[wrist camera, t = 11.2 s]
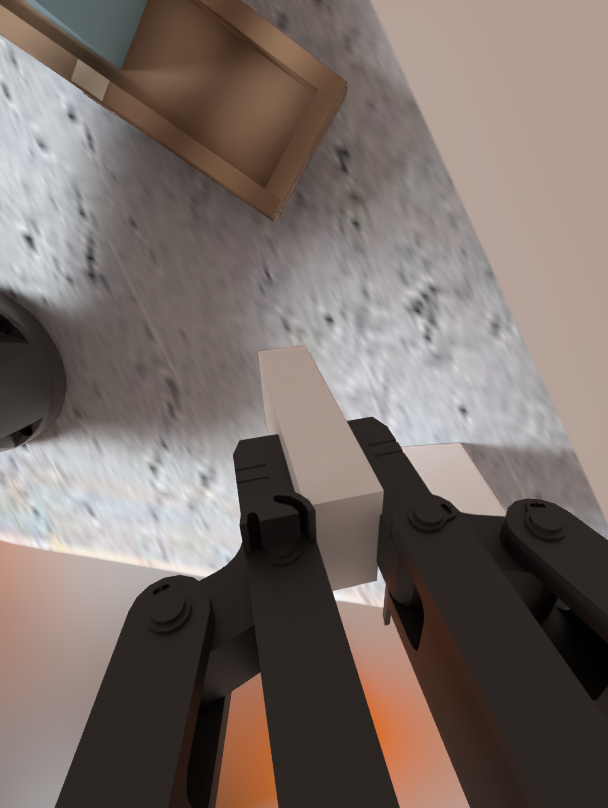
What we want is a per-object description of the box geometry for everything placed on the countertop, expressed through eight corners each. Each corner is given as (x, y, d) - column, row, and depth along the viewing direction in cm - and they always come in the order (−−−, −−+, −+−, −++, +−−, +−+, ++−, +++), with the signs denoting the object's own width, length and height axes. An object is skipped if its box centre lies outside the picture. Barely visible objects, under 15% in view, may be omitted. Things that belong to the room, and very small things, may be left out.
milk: (460, 441, 40) (604, 652, 20) (459, 496, 42) (588, 738, 22) (394, 446, 41) (468, 658, 20) (397, 501, 43) (466, 742, 22)
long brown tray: (344, 107, 31) (349, 76, 25) (278, 224, 34) (268, 221, 28) (2, -152, 27) (-94, -267, 21) (-38, 6, 30) (-132, -53, 24)
